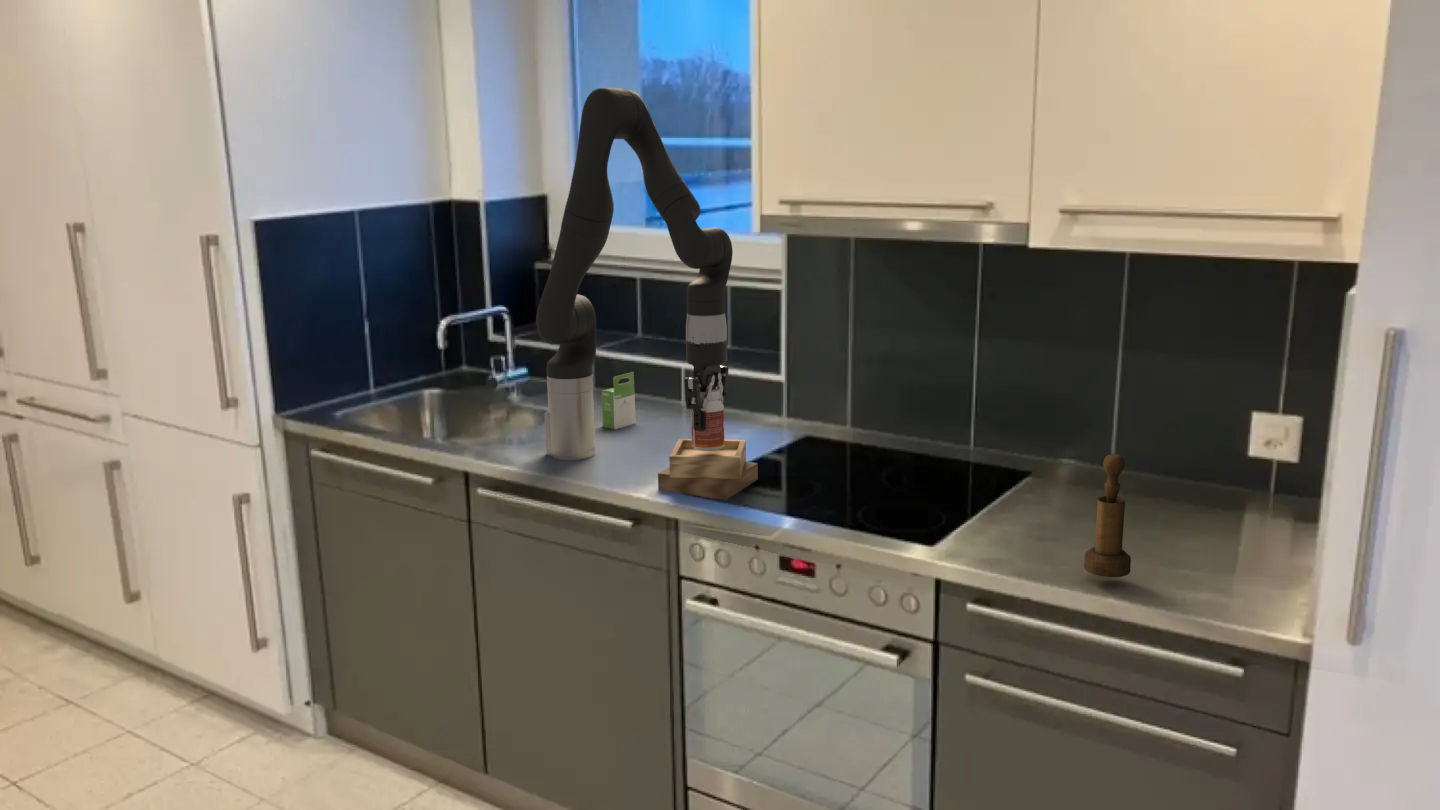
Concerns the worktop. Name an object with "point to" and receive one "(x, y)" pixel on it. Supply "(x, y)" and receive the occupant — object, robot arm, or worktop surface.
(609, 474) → the worktop surface
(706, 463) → the tower top
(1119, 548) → the mortar and pestle
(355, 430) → the worktop surface
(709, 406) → the pill bottle
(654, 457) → the worktop surface
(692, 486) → the tower base
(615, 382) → the ink box
